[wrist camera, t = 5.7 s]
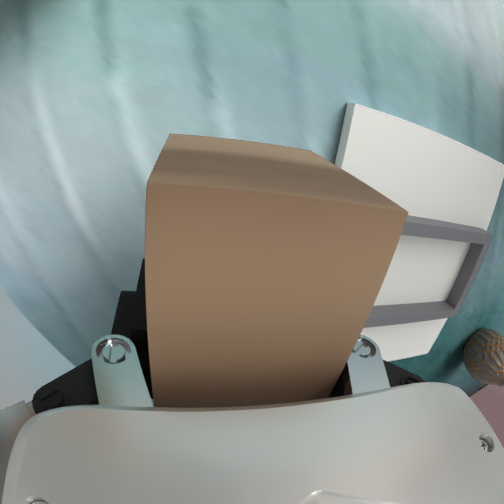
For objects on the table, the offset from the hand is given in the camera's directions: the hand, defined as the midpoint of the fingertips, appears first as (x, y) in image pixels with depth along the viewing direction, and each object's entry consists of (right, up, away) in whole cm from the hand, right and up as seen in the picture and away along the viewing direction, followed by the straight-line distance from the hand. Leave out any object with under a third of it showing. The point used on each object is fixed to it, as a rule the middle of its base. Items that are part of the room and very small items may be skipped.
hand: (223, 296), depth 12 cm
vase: (+32, -11, +23) cm, 41 cm away
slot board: (+14, +1, +12) cm, 18 cm away
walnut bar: (0, 0, +1) cm, 1 cm away
